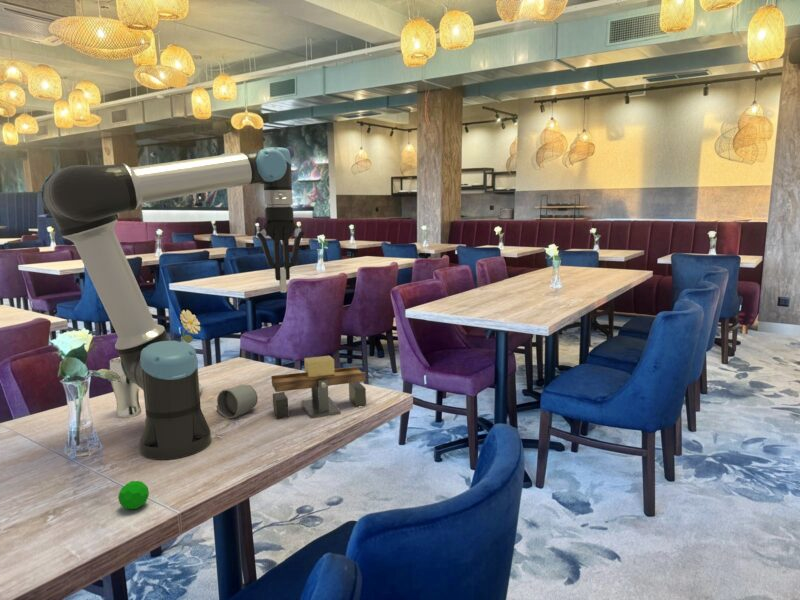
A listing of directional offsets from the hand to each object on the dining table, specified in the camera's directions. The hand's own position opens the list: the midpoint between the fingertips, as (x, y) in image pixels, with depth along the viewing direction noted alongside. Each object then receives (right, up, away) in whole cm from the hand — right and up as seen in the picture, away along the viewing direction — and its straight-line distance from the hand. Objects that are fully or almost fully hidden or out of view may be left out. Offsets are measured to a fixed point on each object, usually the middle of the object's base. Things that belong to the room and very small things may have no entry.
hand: (283, 291), depth 156 cm
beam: (+11, -24, -7) cm, 27 cm away
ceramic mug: (-11, -33, -8) cm, 35 cm away
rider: (+11, -23, -7) cm, 26 cm away
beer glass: (-40, -33, -7) cm, 52 cm away
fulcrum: (+11, -32, -6) cm, 34 cm away
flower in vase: (-30, -30, +7) cm, 43 cm away
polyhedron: (-16, -40, -54) cm, 69 cm away
